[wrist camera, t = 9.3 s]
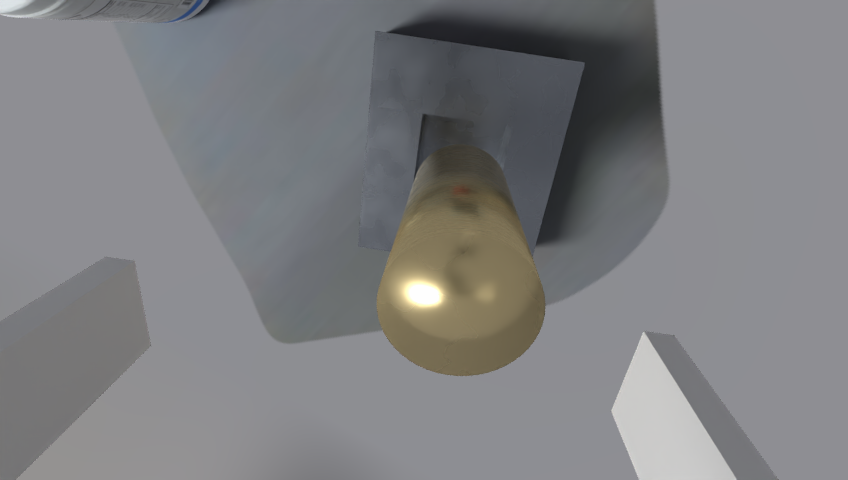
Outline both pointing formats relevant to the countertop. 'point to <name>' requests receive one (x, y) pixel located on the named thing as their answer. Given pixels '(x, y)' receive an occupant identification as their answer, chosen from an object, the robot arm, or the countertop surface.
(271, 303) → the countertop surface
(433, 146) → the housing
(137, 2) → the supplement tub
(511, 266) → the cream rounded cylinder
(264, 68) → the countertop surface
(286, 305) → the countertop surface
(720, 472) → the robot arm
